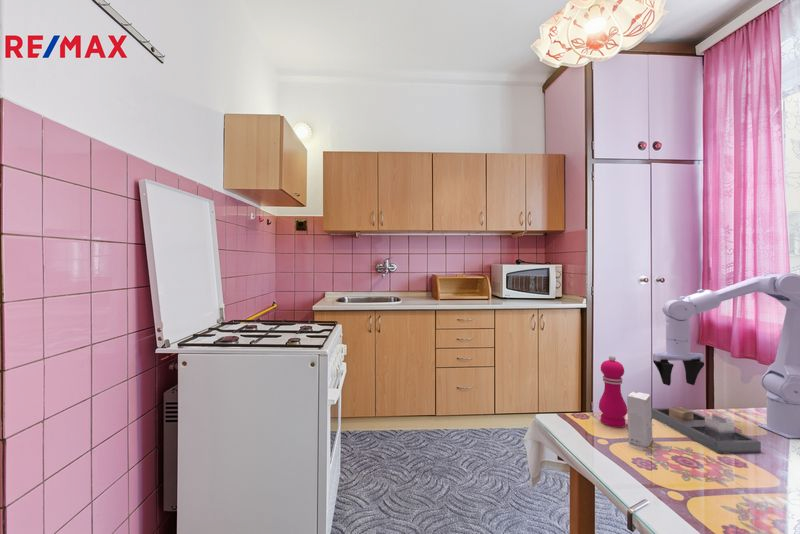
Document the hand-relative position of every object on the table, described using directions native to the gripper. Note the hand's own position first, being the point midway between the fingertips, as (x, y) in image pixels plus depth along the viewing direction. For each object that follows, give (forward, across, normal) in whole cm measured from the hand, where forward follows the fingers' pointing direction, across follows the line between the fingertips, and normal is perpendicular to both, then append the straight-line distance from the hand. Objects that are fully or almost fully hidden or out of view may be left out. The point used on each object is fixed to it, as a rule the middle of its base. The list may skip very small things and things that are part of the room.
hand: (678, 384), depth 106 cm
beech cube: (+10, +2, +3) cm, 11 cm away
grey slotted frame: (+10, +2, +9) cm, 14 cm away
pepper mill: (+11, +22, +2) cm, 25 cm away
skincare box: (+11, +22, +13) cm, 28 cm away
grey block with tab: (+10, +2, +15) cm, 18 cm away
